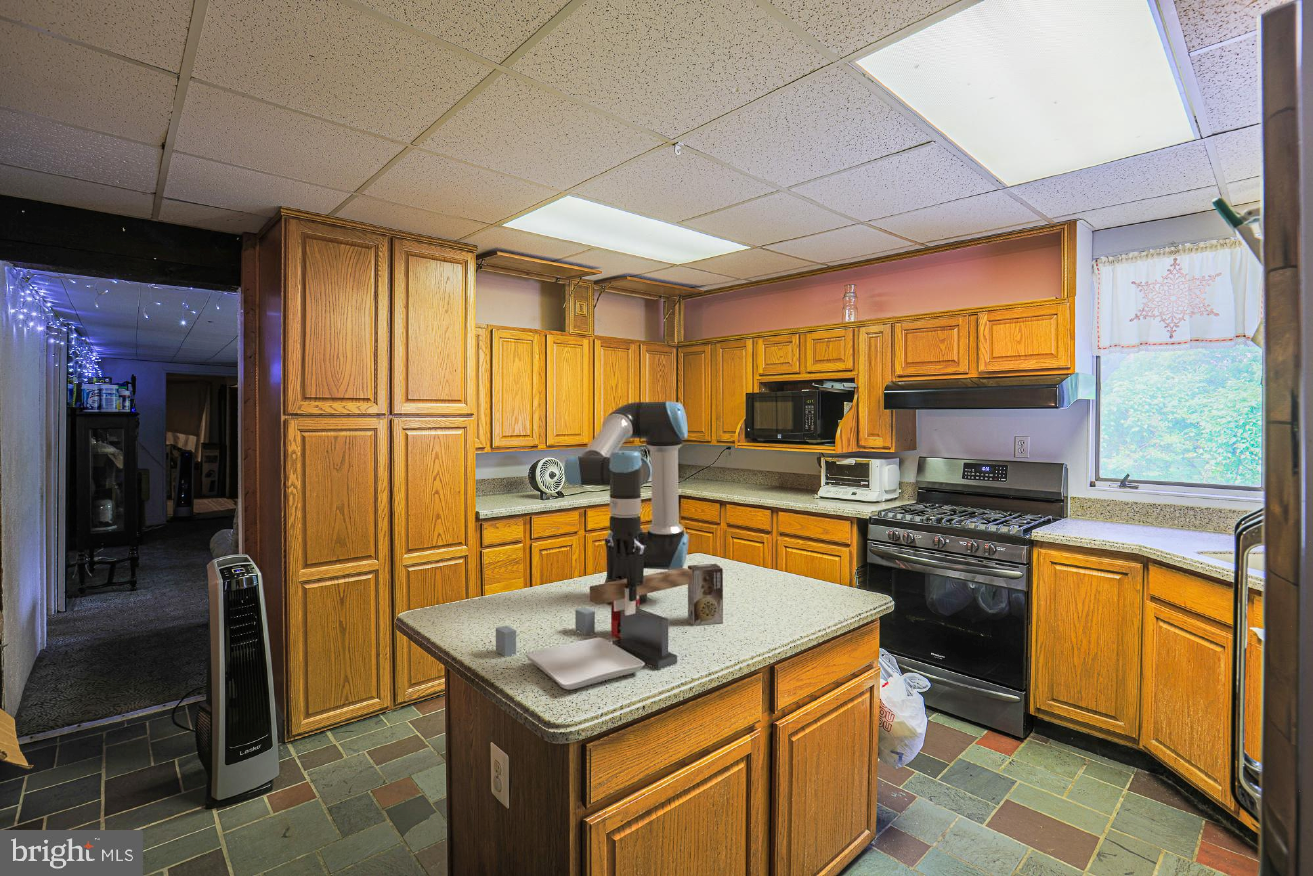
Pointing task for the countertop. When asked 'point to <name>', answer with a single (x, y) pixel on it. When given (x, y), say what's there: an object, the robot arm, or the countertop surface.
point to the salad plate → (584, 662)
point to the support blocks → (508, 634)
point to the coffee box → (705, 594)
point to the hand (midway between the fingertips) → (624, 611)
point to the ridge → (646, 638)
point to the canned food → (618, 620)
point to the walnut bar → (650, 584)
